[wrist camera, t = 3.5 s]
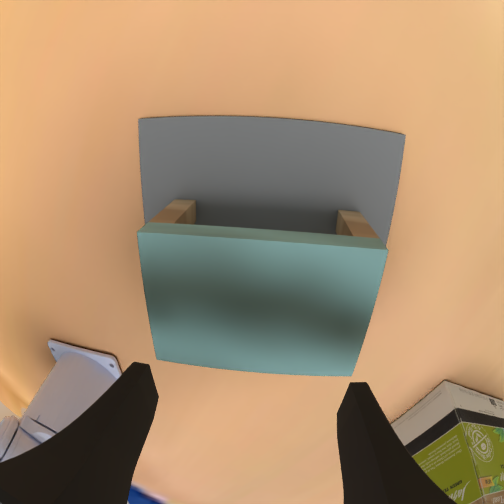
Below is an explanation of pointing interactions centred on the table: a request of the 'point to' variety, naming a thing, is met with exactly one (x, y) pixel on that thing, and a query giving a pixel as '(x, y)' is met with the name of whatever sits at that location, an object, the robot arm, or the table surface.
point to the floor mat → (270, 171)
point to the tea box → (458, 442)
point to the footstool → (259, 293)
